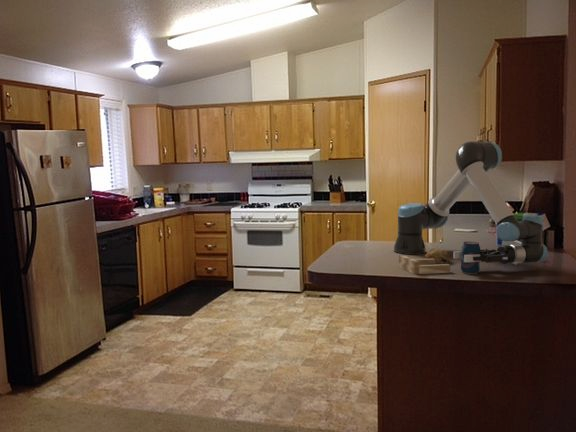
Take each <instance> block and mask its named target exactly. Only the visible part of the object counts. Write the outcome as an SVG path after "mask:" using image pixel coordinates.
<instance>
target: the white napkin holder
mask: <svg viewBox="0 0 576 432" xmlns="http://www.w3.org/2000/svg"><path fill="white" fill-rule="evenodd" d="M502 245H521V240H516V241H512V242H510V241H501V246H502Z"/></svg>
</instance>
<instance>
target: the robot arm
mask: <svg viewBox="0 0 576 432" xmlns="http://www.w3.org/2000/svg"><path fill="white" fill-rule="evenodd" d="M455 153H456V154H455V163H456V165H457V168H458V169H457V171H456V172H455V174H454V175H453V176H452V177H451V178H450V179H449V180H448V181H447V183H446V184H445V186H444V187H443V188H442V189H441V190H440V191H439V193H437V195H436V196H435V197H434V198H433V197H432V198H430V199H428V201H427V202H426V203H425V204H424V205H423V203H417V202H415V203H414V202H413V203H406V204H402V205H400V206H399V207H398V212H397V237H396V240H395V242H394V245H393V252H394V251H395V253H397V252H398V253H397V254H402V253H405V254H404V255H422V253H423V254H425V253H427V252H426V245H425V241H424V239H423V230H431V229H432V230H433V229H439V228H441V227H444V226H445V225H446V224H447V222H448V220H449V216H450V215H449V214H450V209H451V208H452V206H454V204H456V202H458V200H459V199H460V197H461V196H462V195H463V194H464V193H465V192H466V191H467V190H468V188H470V187H471V186H472V188H473V190H474V192H475V193H476V194H477V196H478V197H479V199H480V201H481V202H482V204H483V205H484V207H485V209H486V210H487V212H488V213H489V215H490V216H491V218H492V219H493V220H492V221H494V222H495V224H496V229H495V230H496V236H497V237H498V239H500V240H501V242H503V241H510V242H512V241H516V240H521V245H502V244H501V245H500V246H498V248H497V249H488V248H486V249H485V248H484V249H480V254H476V255H464V262H480V263H481V262H482V263H484V262H485V263H496V262H497V263H500V264H502V265H510V264H514V265H515V266H517V265H518V264H529V263H530V264H531V263H532V264H533V263H534V264H536V263H542V262H544V261H546V260H547V258H548V256H549V251H548V247H547V246H546V245H545V244H544V243H543V228H544V225H543V224H544V221H543V219H544V218H543V216H541V215H538V214H537V215H536V214H525V215H523V216H522V220H519V221H518V219H517V217H516V216H515V215H514V213H513V212H512V210H511V208H510V207H509V205H508V204H507V202H506V200H505V199H504V197H503V196H502V195H501V193H500V191H499V190H498V188H497V187H496V185H495V184H494V182H493V181H492V179H491V177H490V175H489V174H488V171H489V170H493V169H495V168H497V167H498V166H499V165H500V164H501V162H502V160H503V156H502V155H503V154H502V150H501V147H500V146H499V145H498V144H497V143H495V142H490V141H474V140H473V141H467V142H464V143H462V144H461V145H460V146H459V147H458V149H457V151H456V152H455ZM461 251H462V250H461ZM461 251H459V250H458V251H453V258H452V259H454V260H456V259H461Z"/></svg>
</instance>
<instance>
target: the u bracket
mask: <svg viewBox="0 0 576 432" xmlns="http://www.w3.org/2000/svg"><path fill="white" fill-rule="evenodd" d="M398 268H400V269H402V270H403V271H407V272H409V273H411V274H413V275H426V274H444V273H447V274H449V273H451V264H449V263H443V264H436V263H435V259H433V258H431V259H426V258H411V257H410V256H406V255H405V254H401V255H400V254H399V255H398Z"/></svg>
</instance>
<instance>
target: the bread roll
mask: <svg viewBox="0 0 576 432" xmlns="http://www.w3.org/2000/svg"><path fill="white" fill-rule="evenodd" d="M424 257H425V259H431V258H433V259H435V264H436V265H438V264H449V262H450V260H451V258H450V254H449V253H448V252H447V251H446V250H445V249H444V248H440V247H434V248H431V249H430V250H428V251H427V252H426V254H425V255H424Z"/></svg>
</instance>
